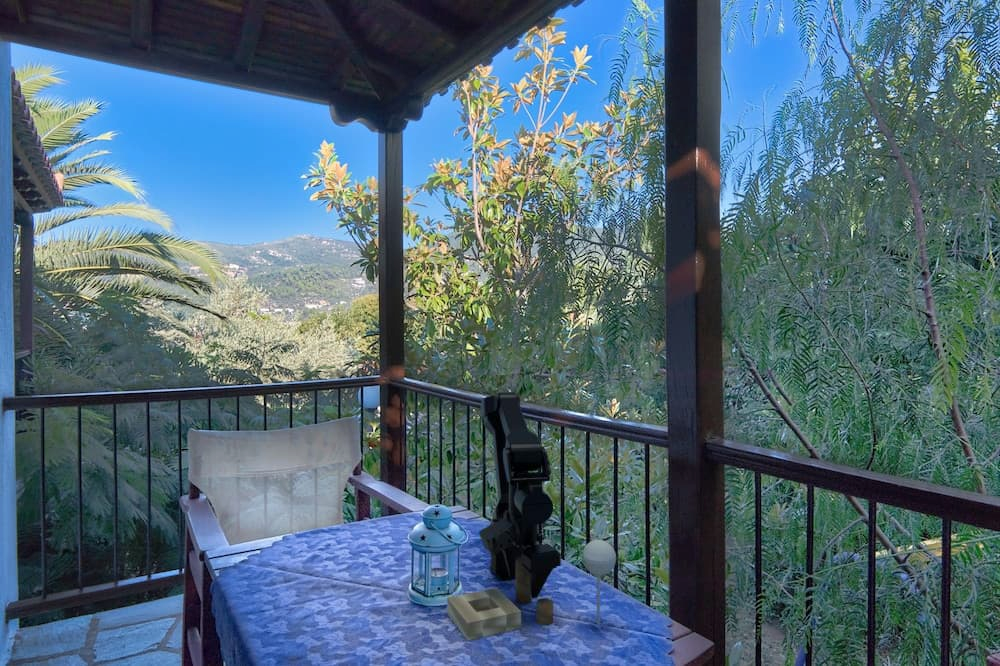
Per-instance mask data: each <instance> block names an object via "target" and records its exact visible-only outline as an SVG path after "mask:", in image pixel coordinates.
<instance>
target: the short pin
mask: <svg viewBox="0 0 1000 666" xmlns="http://www.w3.org/2000/svg"><path fill="white" fill-rule="evenodd" d="M535 607H536V613H535V614H536V615H535V616H536V618H535V619H536V623H537V624H538V625H539V626H551V625H553V624H554V601H553V600H552V599H551V598H545V597H544V598H542V597H541V598H537V600H536V606H535Z"/></svg>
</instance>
